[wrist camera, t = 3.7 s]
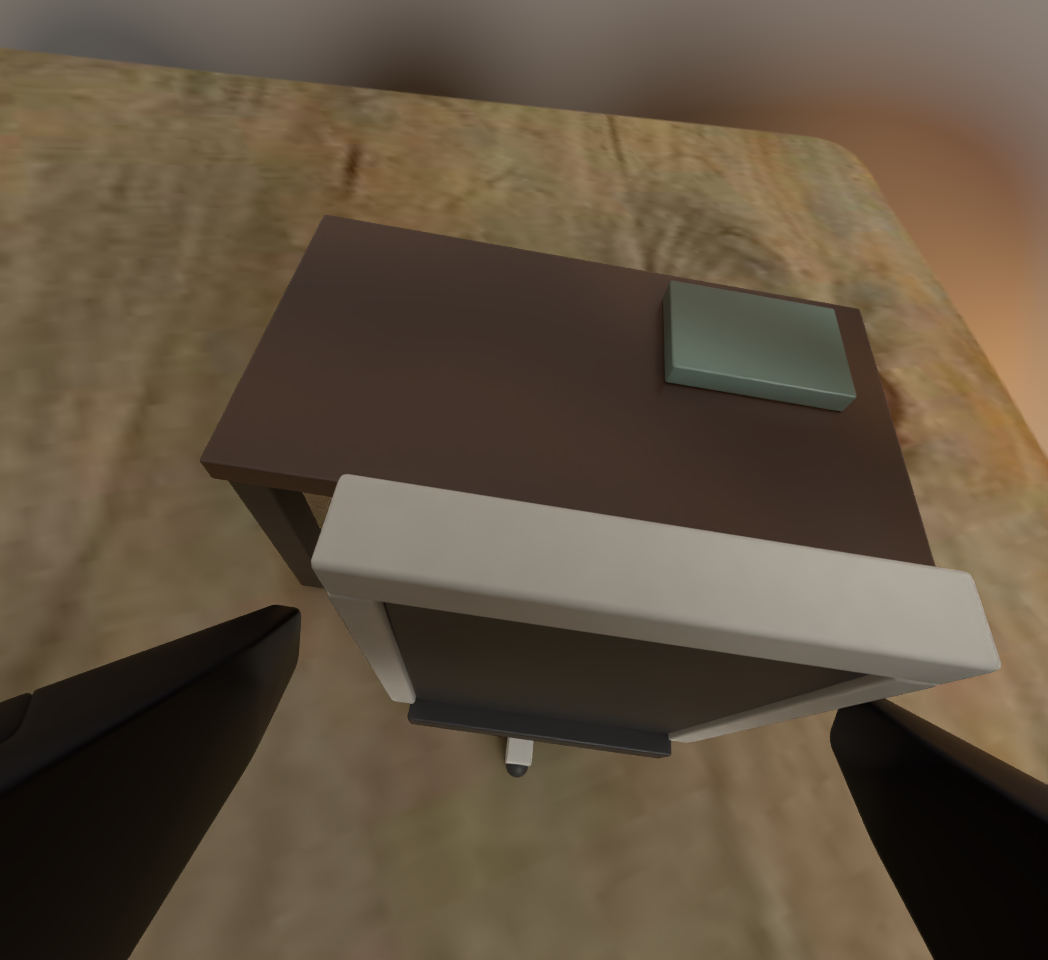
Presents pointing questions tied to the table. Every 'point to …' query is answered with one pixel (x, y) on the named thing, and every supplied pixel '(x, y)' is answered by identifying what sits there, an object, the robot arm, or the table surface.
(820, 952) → the table surface
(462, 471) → the desk
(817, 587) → the white black boxy frame
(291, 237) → the table surface
